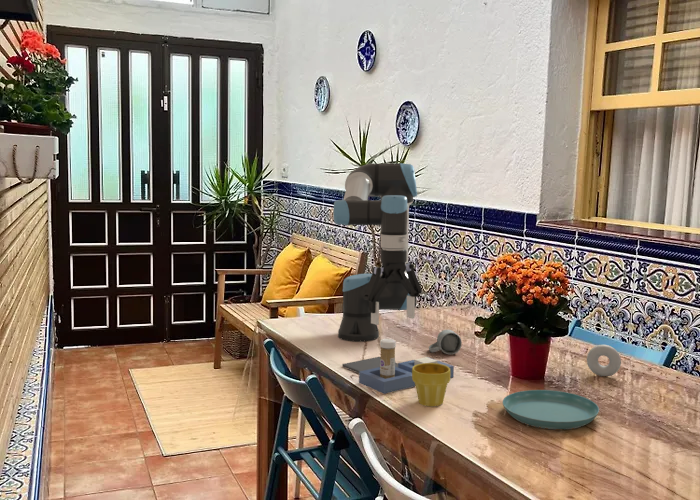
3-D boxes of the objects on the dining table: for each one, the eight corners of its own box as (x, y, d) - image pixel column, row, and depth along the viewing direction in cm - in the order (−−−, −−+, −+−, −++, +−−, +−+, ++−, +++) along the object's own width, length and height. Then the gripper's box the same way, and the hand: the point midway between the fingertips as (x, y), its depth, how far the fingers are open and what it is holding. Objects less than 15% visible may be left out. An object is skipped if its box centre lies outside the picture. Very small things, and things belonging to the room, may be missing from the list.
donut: (620, 377, 217) (622, 345, 216) (619, 380, 214) (621, 348, 213) (586, 372, 222) (588, 341, 220) (585, 375, 218) (586, 344, 217)
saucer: (552, 395, 201) (552, 384, 201) (619, 424, 180) (620, 411, 180) (483, 409, 190) (483, 397, 190) (546, 441, 169) (547, 427, 169)
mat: (342, 366, 228) (342, 364, 227) (379, 358, 236) (379, 356, 236) (370, 378, 215) (370, 375, 215) (408, 369, 224) (408, 367, 224)
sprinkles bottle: (376, 384, 209) (376, 340, 208) (385, 381, 213) (386, 337, 211) (388, 388, 207) (389, 343, 205) (398, 384, 210) (398, 340, 208)
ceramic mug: (456, 348, 250) (456, 326, 249) (461, 354, 242) (461, 332, 241) (426, 349, 249) (426, 327, 248) (431, 355, 241) (431, 333, 240)
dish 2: (398, 374, 220) (398, 363, 219) (427, 367, 227) (427, 356, 226) (423, 384, 210) (424, 372, 210) (453, 377, 217) (453, 365, 217)
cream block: (414, 375, 219) (414, 359, 218) (426, 372, 222) (426, 357, 221) (424, 379, 215) (425, 363, 214) (437, 376, 218) (437, 360, 217)
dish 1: (359, 382, 211) (359, 371, 211) (390, 375, 218) (390, 364, 218) (384, 393, 201) (384, 381, 201) (416, 386, 208) (416, 374, 208)
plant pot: (425, 411, 187) (425, 375, 186) (404, 399, 197) (404, 365, 195) (457, 405, 192) (458, 370, 191) (435, 394, 201) (436, 360, 200)
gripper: (367, 253, 195) (367, 329, 198) (434, 247, 210) (433, 317, 212) (351, 250, 201) (351, 324, 204) (417, 244, 216) (416, 313, 218)
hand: (393, 320), depth 208 cm, fingers open, 13 cm apart
